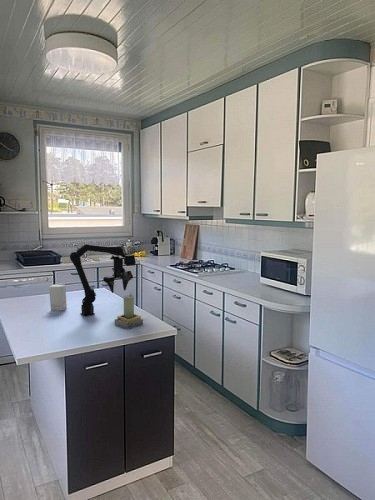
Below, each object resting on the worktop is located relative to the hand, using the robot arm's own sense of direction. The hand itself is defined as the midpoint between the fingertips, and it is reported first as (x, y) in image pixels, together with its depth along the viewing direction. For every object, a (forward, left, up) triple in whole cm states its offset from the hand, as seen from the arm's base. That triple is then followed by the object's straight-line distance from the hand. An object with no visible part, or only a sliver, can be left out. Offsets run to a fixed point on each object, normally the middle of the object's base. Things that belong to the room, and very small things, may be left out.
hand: (118, 291), depth 236 cm
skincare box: (-22, +33, -13) cm, 42 cm away
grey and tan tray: (-12, -24, -13) cm, 30 cm away
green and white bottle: (-11, -23, -10) cm, 27 cm away
